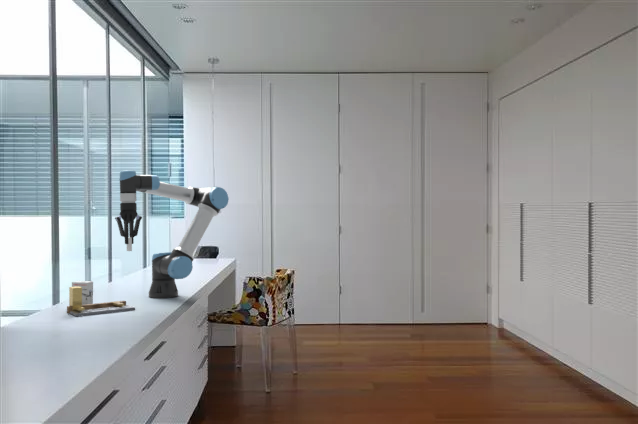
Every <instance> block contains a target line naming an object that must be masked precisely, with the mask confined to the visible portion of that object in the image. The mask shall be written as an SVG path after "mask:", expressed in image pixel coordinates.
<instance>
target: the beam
mask: <svg viewBox="0 0 638 424" xmlns="http://www.w3.org/2000/svg"><path fill="white" fill-rule="evenodd" d="M125 305H127V301H126V300H117V301H106V302H99V303H98V302H97V303H93V304H85V305H82V307H83V308H85V310H88V309H97V308H106V307H116V306H119V307H122V306H125ZM70 311H72V306H69V305H67V306H66V313H67V314H70Z"/></svg>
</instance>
